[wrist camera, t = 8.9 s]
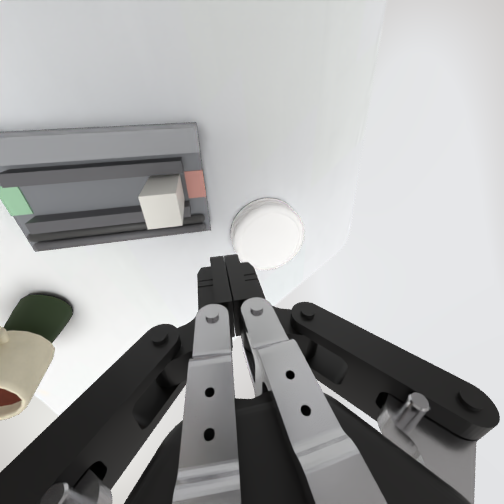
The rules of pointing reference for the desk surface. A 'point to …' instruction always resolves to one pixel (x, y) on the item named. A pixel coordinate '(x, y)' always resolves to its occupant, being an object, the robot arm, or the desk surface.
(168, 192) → the handle
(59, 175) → the grey slider panel
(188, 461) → the robot arm
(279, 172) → the desk surface
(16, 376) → the character mug
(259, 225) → the white round disc
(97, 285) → the desk surface
